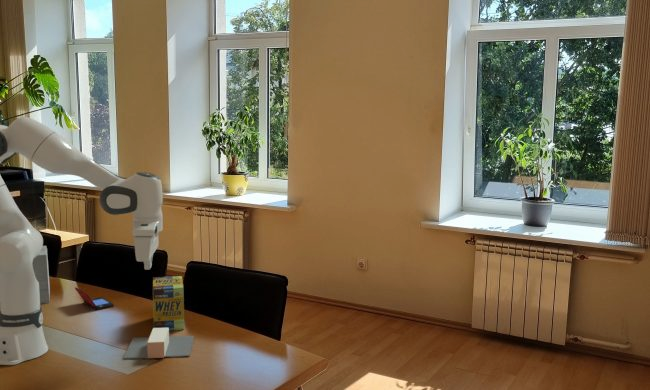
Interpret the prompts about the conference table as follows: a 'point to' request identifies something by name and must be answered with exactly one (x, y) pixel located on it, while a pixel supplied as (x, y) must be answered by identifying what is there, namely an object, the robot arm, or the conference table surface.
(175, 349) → the mat
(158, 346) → the tall block
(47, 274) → the hard drive box
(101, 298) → the handheld game console
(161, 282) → the protein box
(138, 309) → the conference table surface
